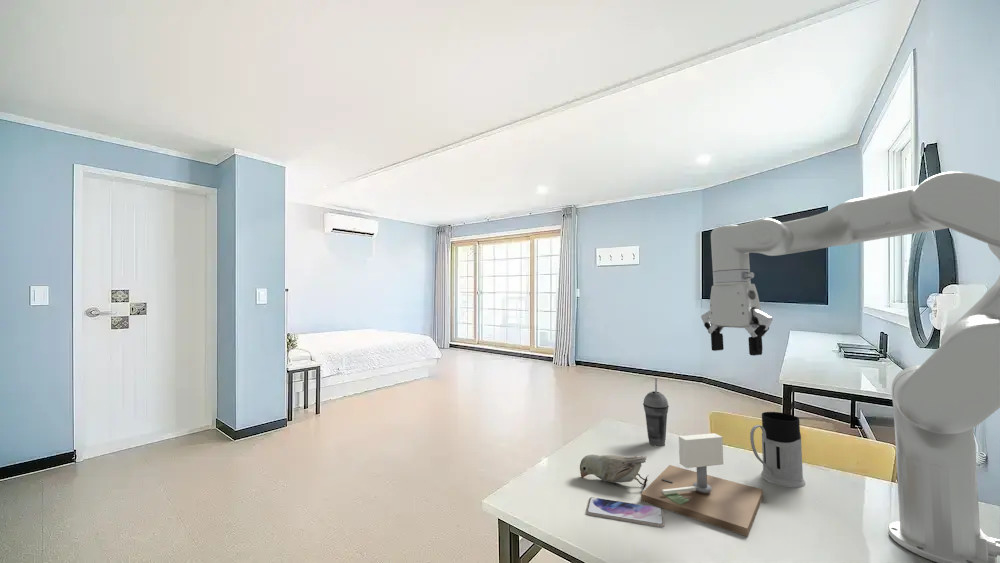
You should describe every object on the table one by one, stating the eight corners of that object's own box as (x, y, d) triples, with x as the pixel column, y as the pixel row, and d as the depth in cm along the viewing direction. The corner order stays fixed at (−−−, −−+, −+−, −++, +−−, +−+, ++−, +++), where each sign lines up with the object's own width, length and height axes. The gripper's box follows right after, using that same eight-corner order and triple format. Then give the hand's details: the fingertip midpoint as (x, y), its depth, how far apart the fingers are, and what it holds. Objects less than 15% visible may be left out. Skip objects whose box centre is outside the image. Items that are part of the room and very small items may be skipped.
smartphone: (589, 496, 87) (662, 507, 82) (589, 500, 87) (662, 511, 82) (585, 512, 80) (664, 525, 76) (585, 516, 80) (664, 529, 75)
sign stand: (714, 484, 89) (712, 432, 89) (726, 492, 85) (724, 437, 86) (658, 490, 86) (656, 437, 87) (668, 498, 83) (666, 442, 83)
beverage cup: (665, 439, 121) (663, 374, 122) (673, 448, 114) (671, 379, 115) (641, 439, 122) (639, 374, 123) (647, 448, 115) (645, 379, 116)
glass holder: (814, 483, 92) (811, 419, 93) (771, 494, 87) (768, 426, 88) (777, 468, 100) (775, 409, 101) (736, 477, 96) (734, 415, 96)
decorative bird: (582, 473, 100) (581, 443, 100) (649, 484, 93) (648, 452, 93) (577, 482, 95) (577, 450, 95) (648, 495, 88) (647, 461, 89)
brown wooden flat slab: (763, 496, 87) (762, 488, 87) (747, 536, 72) (747, 527, 72) (669, 470, 100) (669, 464, 100) (641, 500, 86) (640, 492, 86)
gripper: (780, 276, 84) (785, 355, 84) (711, 280, 101) (715, 347, 100) (755, 276, 82) (760, 358, 81) (689, 281, 98) (693, 349, 97)
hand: (735, 352), depth 90 cm, fingers open, 9 cm apart
